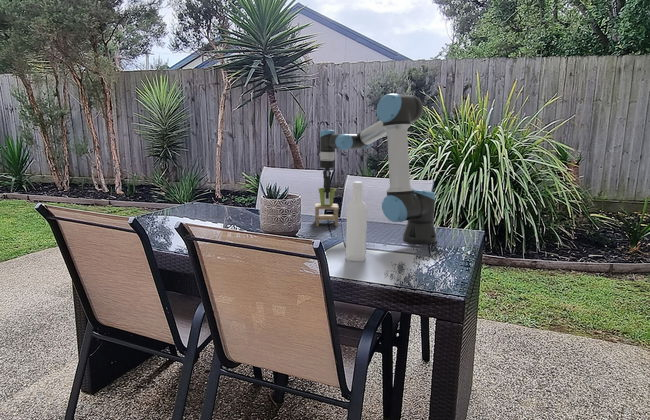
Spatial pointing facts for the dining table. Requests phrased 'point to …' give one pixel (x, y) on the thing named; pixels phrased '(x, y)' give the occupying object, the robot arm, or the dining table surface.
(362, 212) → the bottle
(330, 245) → the dining table surface
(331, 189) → the plant pot
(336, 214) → the plant stand
